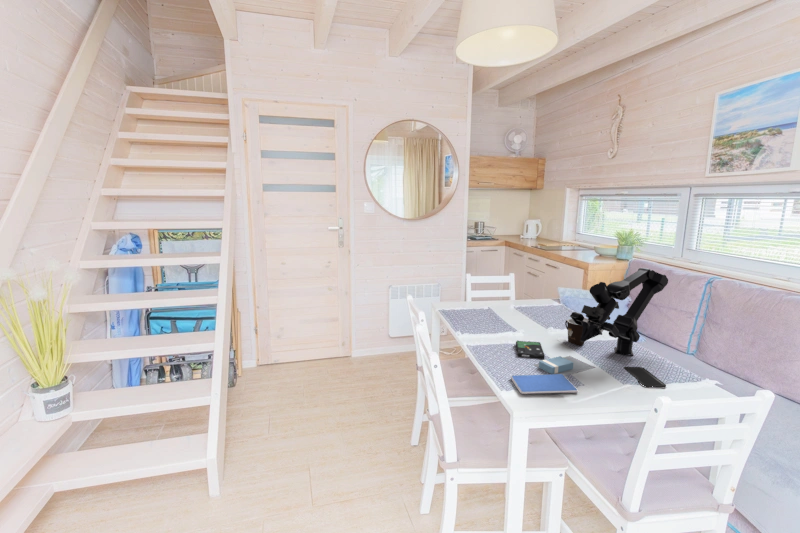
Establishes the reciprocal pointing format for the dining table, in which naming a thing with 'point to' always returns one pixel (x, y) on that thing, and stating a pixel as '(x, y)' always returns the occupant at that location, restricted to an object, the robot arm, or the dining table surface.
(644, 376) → the phone
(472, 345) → the dining table surface
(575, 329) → the coffee mug
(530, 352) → the disk drive
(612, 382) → the dining table surface
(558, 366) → the box
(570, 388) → the tablet computer
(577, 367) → the mat
